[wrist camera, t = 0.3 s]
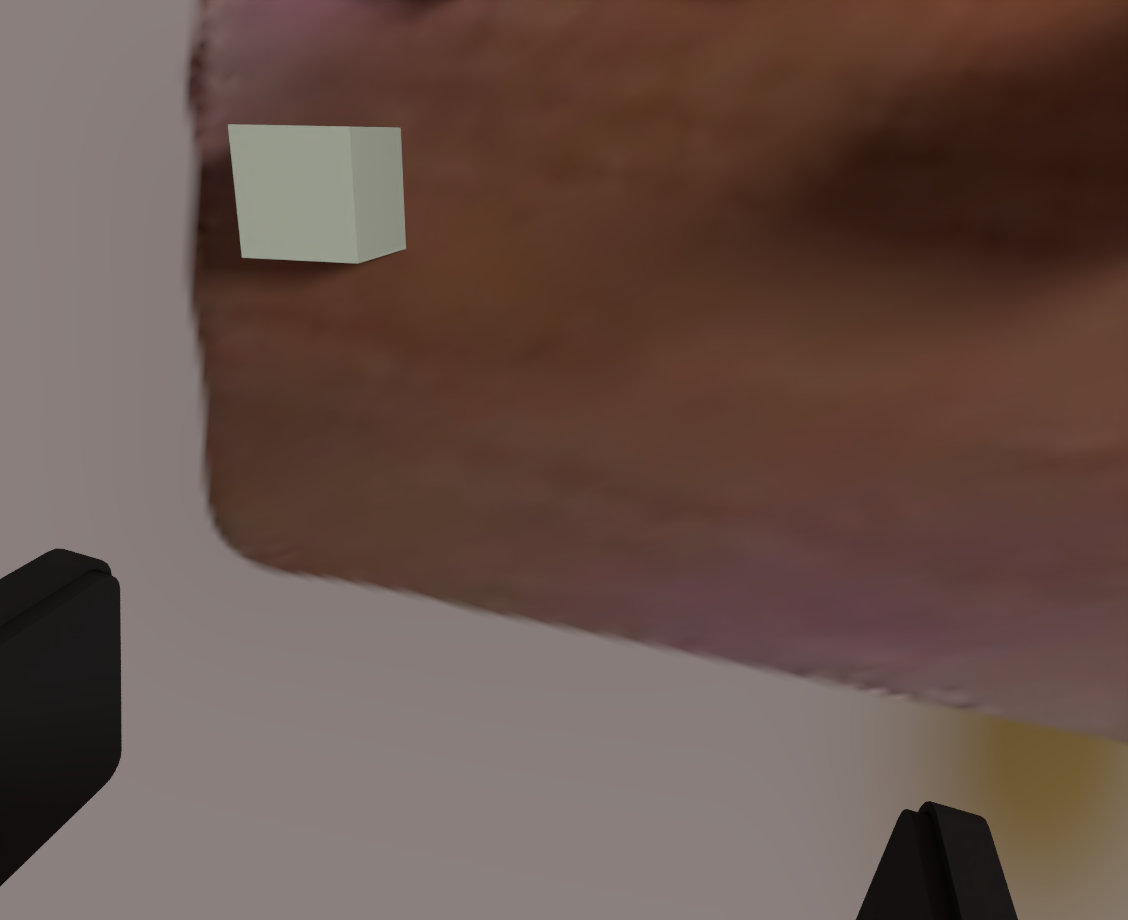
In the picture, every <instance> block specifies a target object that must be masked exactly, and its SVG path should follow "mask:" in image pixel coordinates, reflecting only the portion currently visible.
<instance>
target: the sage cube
mask: <svg viewBox="0 0 1128 920" xmlns="http://www.w3.org/2000/svg"><path fill="white" fill-rule="evenodd" d="M228 130H229V140H230V149H231V159H232V168H233V178H234V187H235V197H236V206H237V216H238V225H239V235H240V244H241V254H242V258H259V259H279V260H298V261H318V262H338V263H357V264H358V263H361V262H365V261H368V260H371V259H374V258H378V257H381V256H384V255H387V254H391V253H394V252H397V251H400V250H404V249H406V241H405V218H404V195H403V172H402V148H401V128H390V127H342V126H287V125H233V124H228Z"/></svg>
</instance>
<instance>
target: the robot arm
mask: <svg viewBox="0 0 1128 920" xmlns="http://www.w3.org/2000/svg"><path fill="white" fill-rule="evenodd" d="M120 637H121V636H120V586H119V582H118V580H117V579H116V578H115V577H113V576H112V575H111V569H110V567H109V566H108V564H107V563H105V562H104V561H102V560H99V559H96V558H92V557H89V556H86V555H82V554H79V553H75V552H72V551H68V550H65V549H54V550H51V551H49V552H47V553H45V554H43V555H41V556H40V557H38V558H36V559H34V560H33V561H31V562H29V563H27V564H26V565H24V566H22V567H21V568H19V569H17V570H15V571H14V572H12V573H10V574H8V575H7V576H5V577H3V578H1V579H0V886H1V885H2V884H3V883H4V882H5V881H6V880H7V879H8V878H9V877H10V876H11V875H13V874H14V873H15V871H17V870H18V869H19V868H20V867H21V866H22V865H23V864H24V863H25V862H26V861H27V860H28V859H29V858H30V857H31V856H32V855H33V854H34V853H35V852H36V851H37V850H38V849H39V848H40V847H41V846H42V845H43V844H44V843H45V842H47V840H49V838H50V837H52V836H53V834H55V833H56V832H57V831H58V830H59V829H60V828H61V827H62V826H63V825H64V824H65V823H66V822H67V821H68V820H69V819H70V818H71V817H72V816H73V815H74V814H75V813H76V812H77V811H78V810H79V809H81V808H82V806H84V805H85V804H86V803H87V802H88V801H89V800H90V799H91V798H92V797H93V796H94V795H95V794H96V793H97V792H98V791H99V790H100V789H101V788H102V787H103V786H104V785H105V784H106V783H107V782H108V781H109V780H110V778H111V777H112V775H113V774H114V772H115V770H116V768H117V766H118V764H119V761H120V757H121V750H122V749H121V646H120V645H121V640H120V639H121V638H120ZM856 920H1018V918H1017V915H1016V912H1015V909H1014V905H1013V903H1012V899H1011V896H1010V893H1009V889H1008V886H1007V883H1006V880H1005V877H1004V873H1003V870H1002V867H1001V864H1000V861H999V858H998V854H997V851H996V848H995V845H994V841H993V838H992V835H991V832H990V829H989V826H988V824H987V822H986V820H985V819H984V818H983V817H981V816H979V815H975V814H972V813H968V812H965V811H961V810H958V809H955V808H951V807H948V806H944V805H941V804H938V803H934V802H931V801H929V802H925V803H924V804H923V805H922V806H921V807H920V809H919V811H918V812H915V811H912V810H908V809H905V810H903V811H902V812H901V814H900V816H899V818H898V820H897V822H896V825H895V827H894V829H893V832H892V834H891V837H890V839H889V841H888V844H887V846H886V849H885V851H884V854H883V856H882V858H881V861H880V863H879V865H878V868H877V870H876V873H875V875H874V877H873V880H872V882H871V885H870V887H869V889H868V892H867V894H866V897H865V899H864V901H863V904H862V906H861V909H860V911H859V914H858V916H857V918H856Z"/></svg>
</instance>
